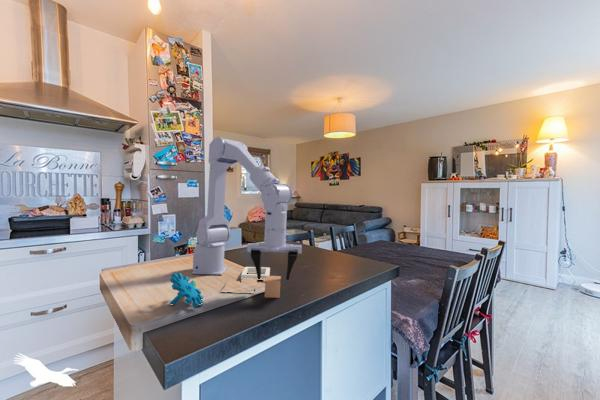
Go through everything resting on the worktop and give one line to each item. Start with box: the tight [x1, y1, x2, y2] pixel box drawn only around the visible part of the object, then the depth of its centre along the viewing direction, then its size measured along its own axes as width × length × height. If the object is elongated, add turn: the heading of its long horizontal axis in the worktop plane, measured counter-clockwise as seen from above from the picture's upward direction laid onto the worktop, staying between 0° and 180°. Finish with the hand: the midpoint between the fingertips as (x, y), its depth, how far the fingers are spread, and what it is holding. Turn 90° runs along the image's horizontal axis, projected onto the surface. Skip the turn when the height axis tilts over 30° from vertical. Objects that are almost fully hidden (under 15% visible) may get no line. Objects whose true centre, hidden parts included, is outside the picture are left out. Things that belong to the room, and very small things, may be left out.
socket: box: [240, 266, 271, 279], centre depth 86 cm, size 8×8×2 cm
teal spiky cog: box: [169, 272, 205, 308], centre depth 64 cm, size 11×6×10 cm
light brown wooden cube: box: [264, 275, 282, 299], centre depth 72 cm, size 4×4×4 cm
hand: (273, 278), depth 72 cm, fingers open, 7 cm apart
